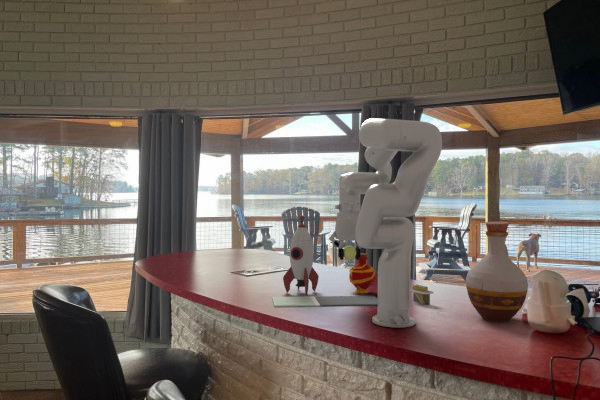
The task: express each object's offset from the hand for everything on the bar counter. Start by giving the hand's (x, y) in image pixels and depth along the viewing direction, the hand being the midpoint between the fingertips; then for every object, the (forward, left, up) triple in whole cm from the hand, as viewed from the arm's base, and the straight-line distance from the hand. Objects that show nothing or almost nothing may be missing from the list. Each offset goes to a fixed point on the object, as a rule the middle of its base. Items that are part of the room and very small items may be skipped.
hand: (349, 258), depth 172 cm
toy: (+17, +15, -15) cm, 27 cm away
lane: (0, +8, -15) cm, 17 cm away
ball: (0, 0, +2) cm, 2 cm away
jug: (-27, -41, -15) cm, 51 cm away
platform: (-4, -25, -16) cm, 30 cm away
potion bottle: (+17, -9, -15) cm, 25 cm away
